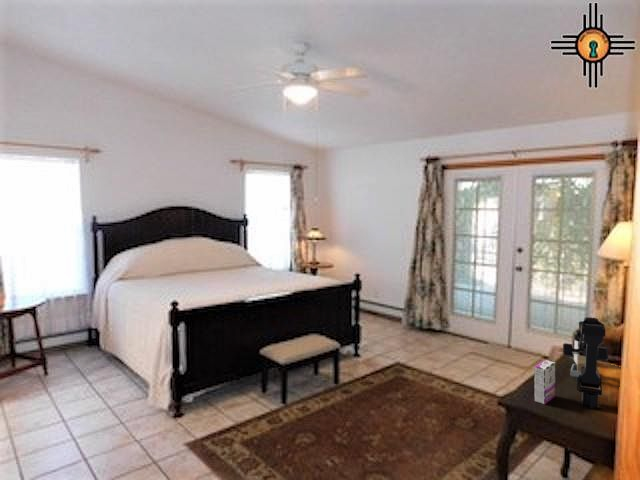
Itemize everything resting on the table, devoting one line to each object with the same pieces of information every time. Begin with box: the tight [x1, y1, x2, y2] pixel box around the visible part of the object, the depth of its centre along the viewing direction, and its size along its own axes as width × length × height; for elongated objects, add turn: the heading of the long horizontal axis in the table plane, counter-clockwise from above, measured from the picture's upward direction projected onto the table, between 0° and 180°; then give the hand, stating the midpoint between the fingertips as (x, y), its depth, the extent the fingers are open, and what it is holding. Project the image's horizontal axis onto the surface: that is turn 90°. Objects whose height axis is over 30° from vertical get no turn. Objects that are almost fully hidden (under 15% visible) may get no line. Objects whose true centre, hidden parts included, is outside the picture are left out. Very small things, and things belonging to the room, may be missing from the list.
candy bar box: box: [533, 359, 556, 405], centre depth 193 cm, size 11×5×16 cm, turn 129°
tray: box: [569, 363, 580, 378], centre depth 218 cm, size 10×10×3 cm
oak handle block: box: [577, 347, 586, 372], centre depth 217 cm, size 5×5×13 cm
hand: (583, 359), depth 216 cm, fingers open, 9 cm apart
